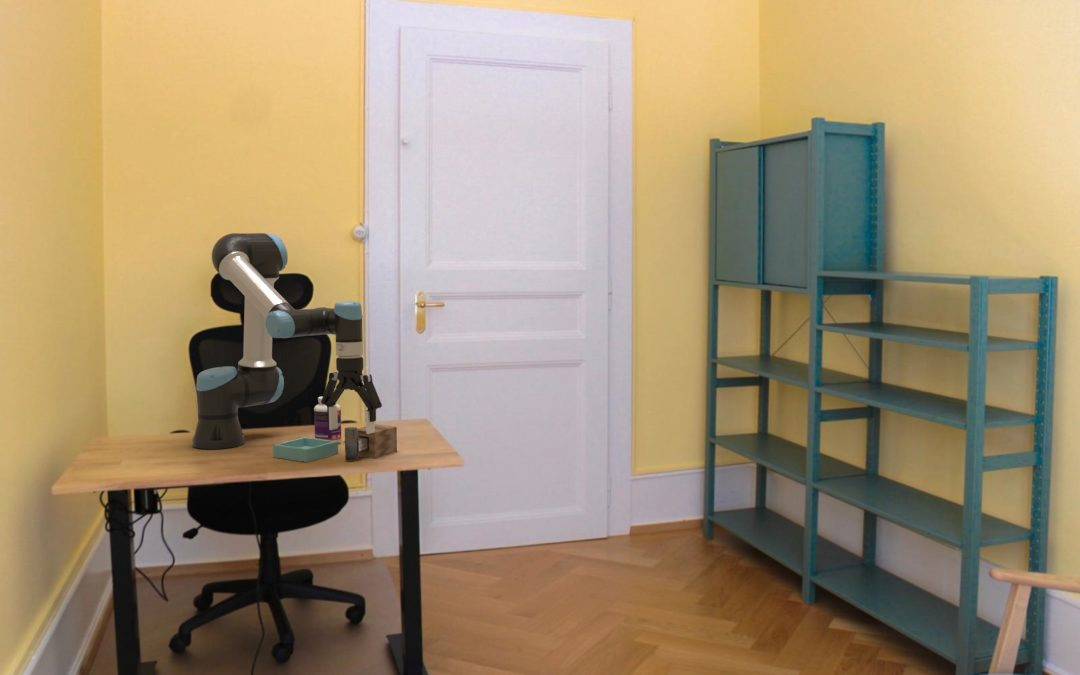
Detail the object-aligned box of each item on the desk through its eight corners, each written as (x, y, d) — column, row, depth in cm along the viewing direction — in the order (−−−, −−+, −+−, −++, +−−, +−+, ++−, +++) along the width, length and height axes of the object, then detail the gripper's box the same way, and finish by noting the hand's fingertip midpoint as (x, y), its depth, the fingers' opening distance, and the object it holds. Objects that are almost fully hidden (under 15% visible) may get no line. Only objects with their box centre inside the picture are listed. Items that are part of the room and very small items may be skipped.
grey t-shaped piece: (352, 461, 270) (351, 429, 269) (342, 460, 272) (341, 428, 271) (391, 449, 285) (390, 420, 284) (381, 448, 287) (381, 419, 286)
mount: (375, 458, 275) (374, 432, 275) (353, 455, 279) (353, 429, 279) (397, 451, 284) (396, 426, 283) (375, 448, 288) (375, 424, 287)
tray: (273, 457, 277) (272, 444, 276) (305, 448, 288) (304, 437, 288) (306, 462, 270) (306, 449, 270) (338, 453, 282) (337, 441, 281)
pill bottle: (335, 446, 291) (334, 399, 290) (310, 445, 293) (309, 398, 291) (345, 441, 299) (344, 395, 298) (321, 440, 301) (320, 394, 299)
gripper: (307, 356, 273) (309, 429, 274) (375, 360, 260) (377, 437, 262) (325, 353, 279) (327, 425, 281) (393, 357, 267) (395, 432, 268)
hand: (351, 431), depth 271 cm, fingers open, 13 cm apart
